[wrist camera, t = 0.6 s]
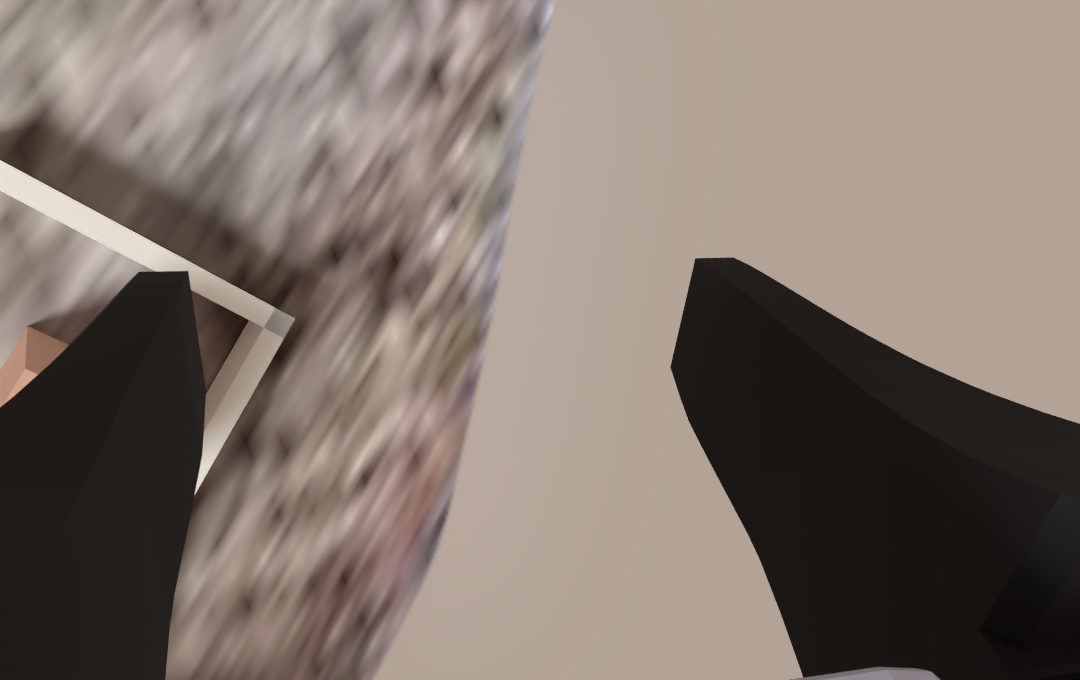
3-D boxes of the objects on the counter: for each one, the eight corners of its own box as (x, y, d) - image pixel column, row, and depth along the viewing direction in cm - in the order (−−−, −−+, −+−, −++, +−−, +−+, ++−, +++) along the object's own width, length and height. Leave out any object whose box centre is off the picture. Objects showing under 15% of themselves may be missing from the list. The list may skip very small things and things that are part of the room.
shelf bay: (102, 619, 32) (106, 649, 30) (-266, 506, 27) (-291, 533, 25) (279, 310, 34) (295, 318, 32) (-35, 141, 28) (-41, 138, 26)
